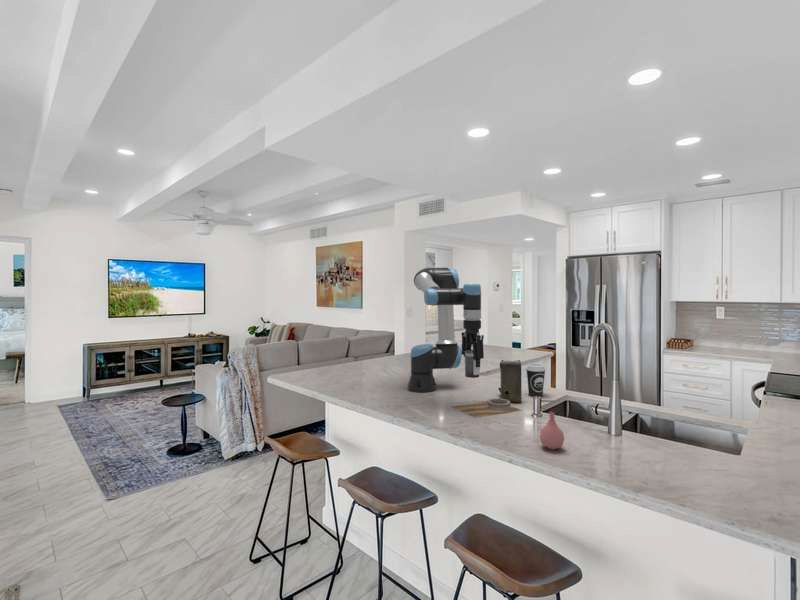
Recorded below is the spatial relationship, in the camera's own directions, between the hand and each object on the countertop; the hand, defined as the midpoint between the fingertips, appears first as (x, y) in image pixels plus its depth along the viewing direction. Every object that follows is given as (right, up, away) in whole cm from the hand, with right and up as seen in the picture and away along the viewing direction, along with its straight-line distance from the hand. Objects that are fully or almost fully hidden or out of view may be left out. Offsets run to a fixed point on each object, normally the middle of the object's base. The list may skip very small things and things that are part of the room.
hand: (472, 373), depth 180 cm
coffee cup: (+36, -16, +27) cm, 47 cm away
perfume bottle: (+20, -18, -40) cm, 49 cm away
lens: (0, -1, 0) cm, 1 cm away
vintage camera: (+21, -16, +21) cm, 34 cm away
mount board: (+6, -17, +1) cm, 18 cm away
